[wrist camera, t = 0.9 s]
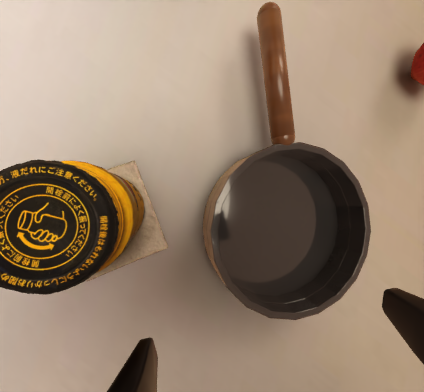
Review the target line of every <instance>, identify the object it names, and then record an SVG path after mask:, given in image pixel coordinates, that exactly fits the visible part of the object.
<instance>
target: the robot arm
mask: <svg viewBox="0 0 424 392" xmlns="http://www.w3.org/2000/svg"><path fill="white" fill-rule="evenodd" d="M382 308H383V311H384V313H385V314H386V315H387V317H388V318H389V320H390V321H391V322H392V324H393V325H394V326H395V328H396V329H397V330H398V332H399V333H400V335H401V336H402V337H403V339H404V340H405V341H406V343H407V344H408V345H409V347H410V348H411V349H412V351H413V352H414V353H415V355H416V356H417V357H418V358H419V359H420V361H421V362H422V363H423V364H424V299H422V298H420V297H418V296H415V295H413V294H410V293H408V292H405V291H403V290H400V289H398V288H391V289H387V290H385V291H384V295H383V303H382ZM157 367H158V356H157V351H156V348H155V345H154V341H153V339H152V338H145V339H141V340H140V341H139V342H138V344H137V346H136V347H135V349H134V350H133V352H132V353H131V355H130V357H129V358H128V360H127V361H126V363H125V364H124V366H123V367H122V369H121V371H120V372H119V374H118V375H117V377H116V378H115V380H114V382H113V383H112V385H111V386H110V388H109V389H108V391H107V392H157Z"/></svg>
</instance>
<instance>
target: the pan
mask: <svg viewBox="0 0 424 392" xmlns="http://www.w3.org/2000/svg"><path fill="white" fill-rule="evenodd" d="M370 233H371V227H370V218H369V208H368V203H367V201H366V198H365V196H364V193H363V191H362V188H361V186H360V183H359V181H358V180H357V178H356V177H355V176H354V175H353V173H352V172H351V171H350V169H349V168H348V167H347V166H346V164H345V163H344V162H343V161H341V160H340V159H338V158H337V157H335V156H334V155H332V154H331V153H330V152H328V151H327V150H325V149H323V148H320V147H316V146H312V145H309V144H305V143H301V142H296V143H292V144H291V145H283V144H275V145H272V146H270V147H267V148H265V149H263V150H261V151H258V152H256V153H254V154H252V155H250V156H248V157H246V158H243V159H241V160H239V161H237V162H236V163H235V164H234V165H232V166H231V167H230V168H229V169H228V170H227V171H226V172H225V173H224V174H223V175H222V176H221V177H220V179H219V180H218V181H217V183H216V184H215V186H214V187H213V189H212V191H211V193H210V196H209V198H208V201H207V204H206V207H205V212H204V217H203V238H204V243H205V248H206V252H207V254H208V257H209V259H210V261H211V263H212V265H213V267H214V269H215V271H216V273H217V274H218V276H219V277H220V279H221V280H222V281H223V283H224V284H225V286H226V287H227V288H228V289H229V290H230V291H231V292H232V293H233V294H234V295H235V296H236V297H237V298H238V299H239V300H240V301H241V302H242V303H243V304H244V305H245V306H246V307H247V308H249V309H251V310H254V311H256V312H258V313H260V314H262V315H264V316H267V317H269V318H276V319H290V320H297V319H301V318H304V317H308V316H311V315H315V314H319V313H320V312H322V311H323V310H325V309H326V308H328V307H329V306H331V305H332V304H334V303H335V302H337V301H338V300H340V299H341V298H342V296H343V295H344V294H345V293H346V292H347V290H348V289H349V288H350V287H351V285H352V284H353V283H354V282H355V281H356V279H357V277H358V275H359V273H360V270H361V268H362V266H363V263H364V261H365V259H366V257H367V252H368V246H369V240H370Z"/></svg>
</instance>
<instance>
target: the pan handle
mask: <svg viewBox="0 0 424 392" xmlns="http://www.w3.org/2000/svg"><path fill="white" fill-rule="evenodd" d="M257 24H258V32H259V41H260V49H261V58H262V66H263V74H264V83H265V91H266V100H267V108H268V117H269V125H270V133H271V141H272V144H273V145H275V144H283V145H291V144H292V143H294V140H295V131H294V123H293V114H292V105H291V96H290V88H289V79H288V70H287V62H286V53H285V44H284V36H283V27H282V18H281V11H280V8H279V6H278V5H277V4H276V3H274V2H268V3H265V4H264V5H263V6H262V7H261V8H260V10H259V12H258V15H257Z"/></svg>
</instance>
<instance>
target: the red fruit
mask: <svg viewBox="0 0 424 392" xmlns="http://www.w3.org/2000/svg"><path fill="white" fill-rule="evenodd" d="M411 78H412V79H413V80H416V81H418V82H419V83H421V84H423V85H424V43H423V44H422V46H421V47H420V48H419V49H418V50H417V52H416V53H415V56H414V58H413V62H412V67H411Z"/></svg>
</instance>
